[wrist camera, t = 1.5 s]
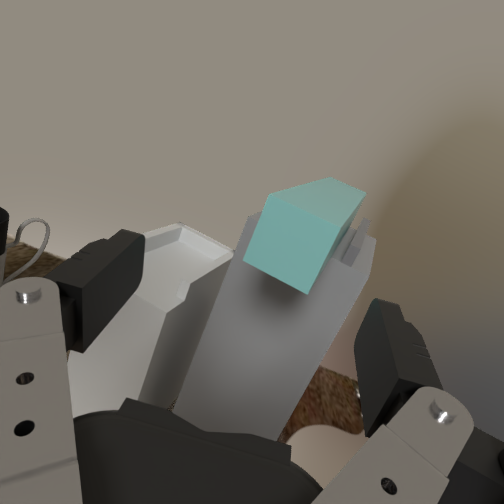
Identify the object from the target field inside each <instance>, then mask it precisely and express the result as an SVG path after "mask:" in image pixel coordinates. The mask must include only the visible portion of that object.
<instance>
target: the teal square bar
mask: <svg viewBox="0 0 504 504" xmlns="http://www.w3.org/2000/svg"><path fill="white" fill-rule="evenodd" d="M365 196H366V192H363V191H361V190H359V189H357V188H354V187H352V186H350V185H347V184H345V183H343V182H341V181H338V180H336V179H334V178H332V177H328V178H325V179H321V180H318V181H314V182H311V183H307V184H303V185H300V186H297V187H293V188H289V189H286V190H282V191H279V192H275V193H272V194H269V196H268V199H267V201H266V204H265V206H264V209H263V211H262V213H261V216H260V218H259V221H258V223H257V226H256V228H255V231H254V233H253V236H252V238H251V241H250V243H249V246H248V248H247V251H246V253H245V256H244V258H243V261H245V262H246V263H248V264H250V265H252V266H254V267H256V268H258V269H260V270H262V271H263V272H265V273H267V274H269V275H271V276H273V277H275V278H277V279H279V280H280V281H282V282H284V283H286V284H288V285H290V286H292V287H294V288H296V289H297V290H299V291H301V292H303V293H305V294H307V295H308V293H309V291H310V290H311V288H312V287H313V285H314V283H315V282H316V280H317V279H318V277H319V275H320V274H321V272H322V271H323V269H324V267H325V266H326V264H327V263H328V261H329V259H330V258H331V256H332V255H333V253H334V251H335V250H336V248H337V247H338V245H339V243H340V242H341V240H342V239H343V237H344V235H345V234H346V232H347V231H348V229H349V227H350V225H351V223H352V221H353V219H354V217H355V215H356V213H357V211H358V209H359V208H360V206H361V204H362V202H363V200H364V198H365Z"/></svg>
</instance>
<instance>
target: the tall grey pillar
mask: <svg viewBox="0 0 504 504" xmlns="http://www.w3.org/2000/svg"><path fill="white" fill-rule="evenodd" d="M261 213H262V211H261V212H259V213H256V214H254V215H251V216H249V217H248V219H247V221H246V224H245V227H244V229H243V232H242V234H241V237H240V239H239V242H238V245H237V247H236V250H235V252H234V255H233V257H232V260H231V262H230V265H229V268H228V270H227V273H226V275H225V278H224V280H223V283H222V286H221V288H220V291H219V293H218V296H217V298H216V301H215V303H214V306H213V309H212V311H211V314H210V316H209V319H208V321H207V324H206V327H205V329H204V332H203V334H202V337H201V339H200V342H199V345H198V347H197V350H196V352H195V355H194V357H193V360H192V362H191V365H190V368H189V370H188V373H187V375H186V378H185V380H184V383H183V386H182V388H181V391H180V393H179V396H178V398H177V401H176V404H175V406H174V409H173V411H172V413H174V414H176V415H177V416H179V417H181V418H182V419H184V420H186V421H188V422H189V423H191V424H193V425H194V426H196V427H198V428H199V429H201V430H203V431H207V432H225V433H248V434H253V435H257V436H260V437H263V438H267V439H270V440H274V441H277V439H278V437H279V435H280V434H281V432H282V430H283V428H284V426H285V425H286V423H287V421H288V419H289V418H290V416H291V414H292V412H293V410H294V409H295V407H296V405H297V403H298V402H299V400H300V398H301V396H302V395H303V393H304V391H305V389H306V387H307V386H308V384H309V382H310V380H311V379H312V377H313V375H314V373H315V372H316V370H317V368H318V366H319V364H320V363H321V361H322V359H323V357H324V355H325V354H326V352H327V350H328V348H329V347H330V345H331V343H332V341H333V340H334V338H335V336H336V334H337V333H338V331H339V329H340V327H341V326H342V324H343V322H344V320H345V318H346V317H347V315H348V313H349V311H350V309H351V308H352V306H353V304H354V302H355V301H356V299H357V297H358V295H359V294H360V292H361V290H362V288H363V286H364V285H365V283H366V281H367V279H368V278H369V275H370V270H371V265H372V260H373V254H374V249H375V244H376V239H375V238H372V237H370V236H368V235H366V233H367V230H368V227H369V224H370V220H368V219H366V218H363V220H362V221H361V223H360V225H359V227H358V229H357V230H355V229H353V228H351V227H349V229H348V231H347V232H346V234H345V235H344V237H343V239H342V240H341V242H340V243H339V245H338V247H337V248H336V250H335V251H334V253H333V255H332V256H331V258H330V259H329V261H328V263H327V264H326V266H325V267H324V269H323V271H322V272H321V274H320V275H319V277H318V279H317V280H316V282H315V283H314V285H313V287H312V288H311V290H310V291H309V293H308V295H307V294H305V293H303V292H301V291H299V290H297V289H296V288H294V287H292V286H290V285H288V284H286V283H284V282H282V281H280V280H279V279H277V278H275V277H273V276H271V275H269V274H267V273H265V272H263V271H262V270H260V269H258V268H256V267H254V266H252V265H250V264H248V263H246V262H245V261H243V258H244V256H245V253H246V251H247V248H248V246H249V243H250V241H251V238H252V236H253V233H254V231H255V228H256V226H257V223H258V221H259V218H260V216H261Z"/></svg>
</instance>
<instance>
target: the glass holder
mask: <svg viewBox="0 0 504 504" xmlns="http://www.w3.org/2000/svg"><path fill="white" fill-rule="evenodd" d="M35 221H37V222H43V223H44V224H45V226H46V234H45V238H44V241H43V243H42V245H41V247H40V249H39V250H38V252H37V253H36V254H35V256H34V257H33V258H32V259H31V260H30V261H29V262H28V263H26V264H25V265H24V266H23V267H21V268H20V269H19V270H17V271H16V272H14V273H13V274H11V275H10V276H9V277H7V278H6V279H5V280H3V277H4V269H5V260H6V252H7V248H10V247H14V246H16V245H17V244H18V243H19V240H20V235H21V232H22V230H23V229H24V227H25V226H26V225H28V224H30V223H31V222H35ZM8 222H9V214H8V212H7V211H6V210H4V209H3V208H1V207H0V288H1V287H2V286H3V285H4V284H6V283H8V282H9V281H10V280H12V279H13V278H15V277H16V276H17V275H19V274H20V273H22V272H23V271H24V270H26V269H27V268H28V267H29V266H31V265H32V264H33V263H34V262H36V260H37V259H38V258H39V257H40V255H41V254H42V252H43V251H44V249H45V247H46V245H47V242H48V239H49V234H50V228H49V225H48V223H46V222H45V221H44V220H42V219H39V218H31V219H28V220H26V221H24V222H23V223H22V224H21V225H20V226H19V228H18V230H17V234H16V238H15V241H14V242H13V243H10V244H6V239H7V230H8Z"/></svg>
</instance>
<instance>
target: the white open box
mask: <svg viewBox="0 0 504 504" xmlns="http://www.w3.org/2000/svg"><path fill="white" fill-rule="evenodd" d="M142 234H143V235H144V236H145V253H144V266H143V276H142V280H141V282H140V285H139V287H138V289H137V290H136V291H135V293H134V294H133V295H132V296H131V297H130V299H129V300H128V301H127V302H126V303H125V304H124V306H123V307H122V308H121V309H120V310H119V312H118V313H117V314H116V315H115V316H114V318H113V319H112V320H111V321H110V322H109V324H108V325H107V326H106V327H105V328H104V329H103V331H102V332H101V333H100V334H99V335H98V337H97V338H96V339H95V340H94V341H93V343H92V344H91V345H90V346H89V347H88V349H87V350H86V351H85V352H84V353H79V352H76V351H72V350H70V354H69V358H68V363H67V366H68V375H69V385H70V395H71V404H72V414H73V418H75V417H77V416H80V415H84V414H87V413H91V412H97V411H104V410H119V408H120V407H121V405H122V403H123V402H124V400H125V398H126V397H127V398H131V399H134V400H138V401H141V402H144V403H148V404H151V405H155V406H158V407H161V408H165V409H167V408H168V407H169V406H170V405H171V404H172V403H173V402H174V401H175V400H176V398H177V397H178V396H179V393H180V391H181V388H182V386H183V383H184V380H185V378H186V375H187V373H188V370H189V368H190V365H191V362H192V360H193V357H194V355H195V352H196V350H197V347H198V345H199V342H200V339H201V337H202V334H203V332H204V329H205V327H206V324H207V321H208V319H209V316H210V314H211V311H212V309H213V306H214V303H215V301H216V298H217V296H218V293H219V291H220V288H221V286H222V283H223V280H224V278H225V275H226V273H227V270H228V268H229V265H230V262H231V260H232V257H233V255H234V252H235V250H233V249H231V248H229V247H227V246H225V245H223V244H221V243H219V242H217V241H216V240H214V239H212V238H210V237H208V236H206V235H204V234H202V233H200V232H198V231H196V230H195V229H192V228H191V227H189V226H187V225H185V224H183V223H181V222H179V223H176V224H172V225H169V226H166V227H162V228H159V229H156V230H152V231H149V232H146V233H142Z"/></svg>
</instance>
